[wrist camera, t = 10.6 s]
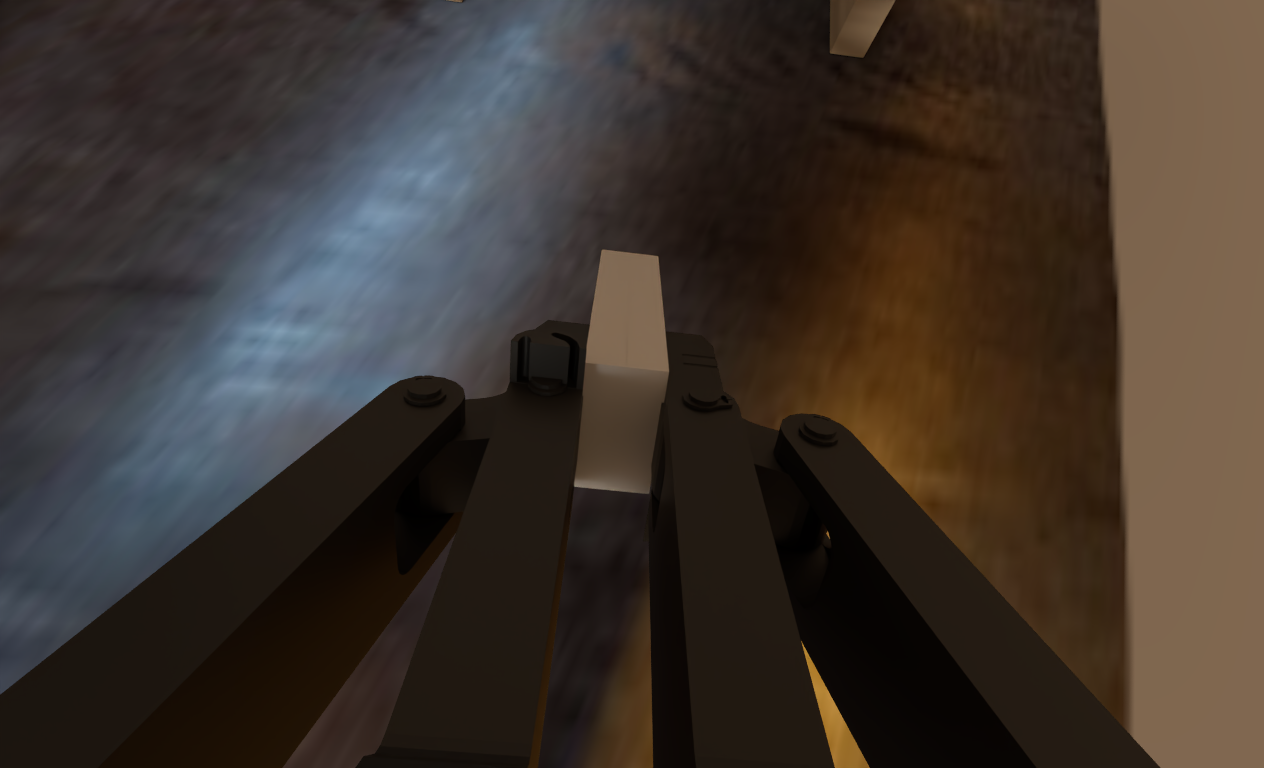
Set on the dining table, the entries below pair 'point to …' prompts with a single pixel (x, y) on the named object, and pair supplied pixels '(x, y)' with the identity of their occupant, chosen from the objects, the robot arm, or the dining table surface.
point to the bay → (852, 24)
